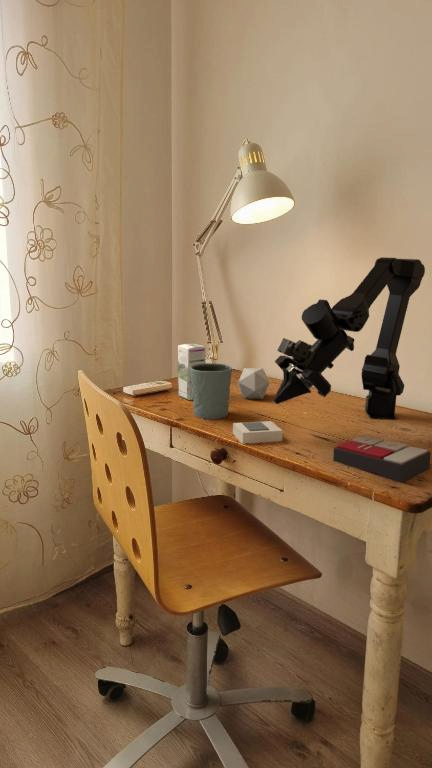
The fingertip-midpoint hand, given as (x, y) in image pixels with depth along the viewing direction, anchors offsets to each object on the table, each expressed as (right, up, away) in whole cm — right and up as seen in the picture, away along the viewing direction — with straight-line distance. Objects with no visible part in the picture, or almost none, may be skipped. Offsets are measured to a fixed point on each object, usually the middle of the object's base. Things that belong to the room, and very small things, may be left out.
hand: (274, 402), depth 126 cm
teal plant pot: (-14, -4, +18) cm, 23 cm away
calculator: (+19, -12, -13) cm, 26 cm away
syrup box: (-20, 0, +34) cm, 39 cm away
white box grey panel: (0, -7, +2) cm, 7 cm away
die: (-3, 0, +35) cm, 35 cm away
